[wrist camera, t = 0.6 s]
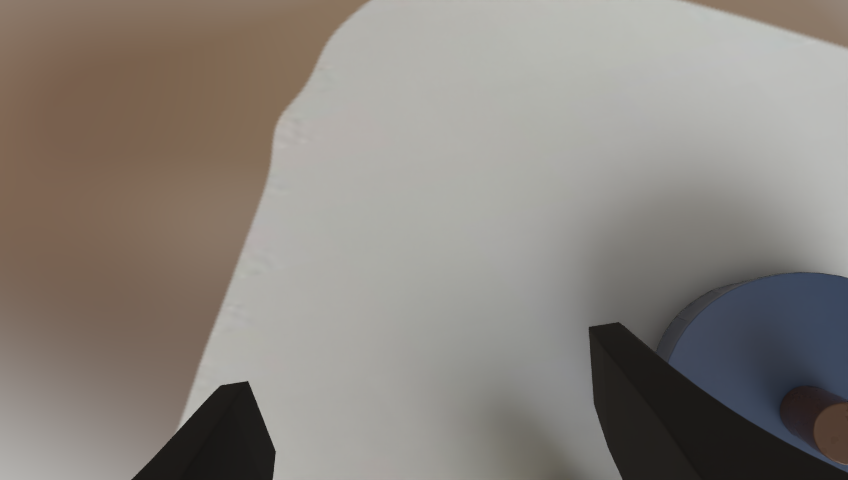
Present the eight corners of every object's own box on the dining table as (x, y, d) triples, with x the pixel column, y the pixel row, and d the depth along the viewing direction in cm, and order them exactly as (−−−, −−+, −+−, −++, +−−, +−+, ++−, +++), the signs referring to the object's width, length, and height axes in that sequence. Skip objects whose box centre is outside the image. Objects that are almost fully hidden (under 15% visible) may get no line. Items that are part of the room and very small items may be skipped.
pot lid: (1024, 437, 26) (1126, 474, 21) (783, 599, 28) (829, 665, 23) (815, 217, 28) (866, 207, 23) (601, 379, 30) (610, 400, 25)
